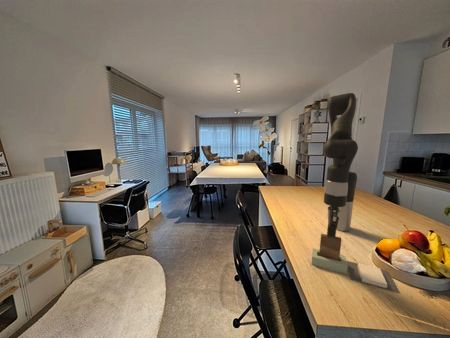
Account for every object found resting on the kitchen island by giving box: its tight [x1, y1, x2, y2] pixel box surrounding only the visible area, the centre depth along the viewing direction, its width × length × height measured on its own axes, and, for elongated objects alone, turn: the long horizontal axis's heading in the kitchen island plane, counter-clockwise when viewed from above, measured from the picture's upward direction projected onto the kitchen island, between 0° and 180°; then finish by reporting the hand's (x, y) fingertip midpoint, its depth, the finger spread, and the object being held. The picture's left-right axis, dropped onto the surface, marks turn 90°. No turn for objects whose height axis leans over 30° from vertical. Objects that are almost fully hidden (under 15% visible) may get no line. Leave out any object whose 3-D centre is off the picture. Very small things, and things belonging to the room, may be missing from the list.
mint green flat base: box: [310, 247, 348, 275], centre depth 77 cm, size 7×12×4 cm, turn 64°
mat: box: [347, 260, 401, 294], centre depth 71 cm, size 12×14×1 cm
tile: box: [357, 262, 387, 288], centre depth 70 cm, size 2×7×9 cm
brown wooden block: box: [319, 220, 342, 261], centre depth 75 cm, size 2×7×15 cm, turn 64°
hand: (331, 234), depth 75 cm, fingers closed on brown wooden block, 2 cm apart
